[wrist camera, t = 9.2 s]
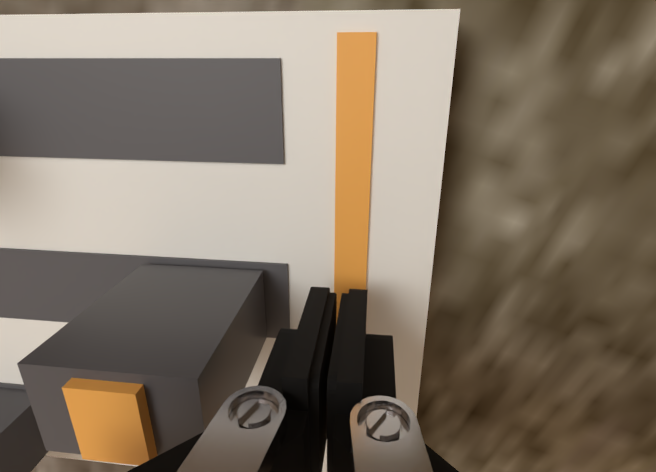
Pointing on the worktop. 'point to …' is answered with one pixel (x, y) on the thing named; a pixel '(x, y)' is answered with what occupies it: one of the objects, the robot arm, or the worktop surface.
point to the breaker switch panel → (219, 169)
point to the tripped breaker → (147, 362)
